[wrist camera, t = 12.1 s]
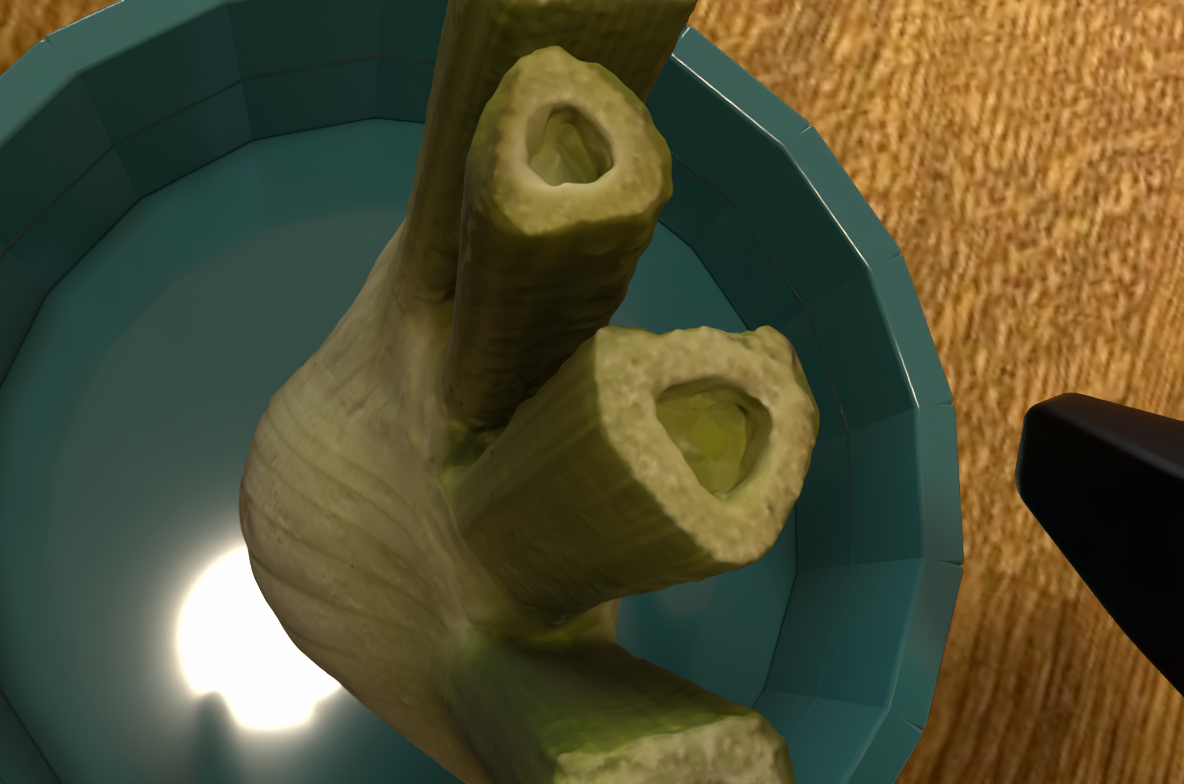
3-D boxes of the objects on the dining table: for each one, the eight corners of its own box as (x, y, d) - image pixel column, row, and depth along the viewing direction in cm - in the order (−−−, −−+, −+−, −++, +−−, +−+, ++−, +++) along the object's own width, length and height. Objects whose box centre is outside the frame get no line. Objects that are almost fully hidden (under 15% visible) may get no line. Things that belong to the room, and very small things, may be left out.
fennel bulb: (505, 765, 16) (918, 1133, 4) (179, 643, 15) (-312, 712, 4) (637, 403, 17) (1202, -14, 6) (346, 279, 17) (353, -446, 5)
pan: (923, 781, 18) (1108, 832, 13) (57, 1129, 14) (-65, 1347, 10) (677, 41, 20) (772, -123, 15) (-147, 191, 16) (-328, 33, 12)
